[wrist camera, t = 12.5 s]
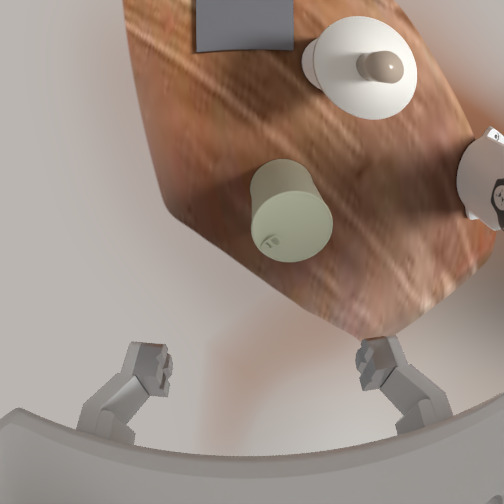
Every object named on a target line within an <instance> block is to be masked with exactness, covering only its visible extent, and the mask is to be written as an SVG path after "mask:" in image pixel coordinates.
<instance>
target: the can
mask: <svg viewBox="0 0 504 504" xmlns="http://www.w3.org/2000/svg"><path fill="white" fill-rule="evenodd" d="M250 194H251V198H252V223H251V234H252V238H253V241H254V243H255V245H256V246H257V248H258V249H259V250H260V251H261V252H262V253H263V254H264V255H266V256H267V257H269V258H271V259H274V260H277V261H281V262H298V261H302V260H305V259H308V258H310V257H312V256H314V255H315V254H317V253H318V252H319V251H321V250H322V249H323V247H324V246H325V245H326V244H327V242H328V241H329V239H330V236H331V234H332V229H333V219H332V215H331V212H330V210H329V208H328V206H327V205H326V204H325V202H324V201H323V199H322V197H321V195H320V194H319V192H318V190H317V188H316V186H315V185H314V183H313V180H312V177H311V175H310V173H309V172H308V170H307V169H306V168H305V167H304V166H303V165H301V164H300V163H298V162H296V161H293V160H289V159H277V160H272V161H270V162H268V163H266V164H264V165H263V166H261V167H260V168H259V169H258V170H257V171H256V173H255V174H254V176H253V178H252V181H251V185H250Z"/></svg>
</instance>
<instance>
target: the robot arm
mask: <svg viewBox="0 0 504 504" xmlns="http://www.w3.org/2000/svg"><path fill="white" fill-rule="evenodd" d="M457 191H458V194H459V197H460V199H461V201H462V202H463V204H464V205H465V210H466V216H467V217H468V218H469V219H471V220H474V219H480V220H481V221H482V222H484V223H485V224H486V225H487V226H488V227H490V228H491V229H492V230H494V231H496V230H501V229H502V230H503V231H504V136H503V135H502V134H500V133H499V132H498V131H497V130H495V129H494V128H492V127H488V128H487V129H486V131H485V132H484V134H483V135H482V136H481V137H480V138H478V139H477V140H475V141H474V142H472V143H471V144H470V145H469V146H468V148H467V149H466V151H465V152H464V154H463V156H462V158H461V161H460V164H459V167H458V172H457ZM361 346H362V347H361V348H360V349H359V350H358V351H357V353H356V360H355V361H356V367H357V370H358V371H359V372H360V373H361V376H360V383H361V386H362V390H363V391H367V390H373V389H379V388H380V390H381V391H382V392H383V394H385V396H386V397H387V398H388V399H389V400H390V401H391V402H392V403H393V404H394V405H395V407H396V408H397V409H398V410H399V411H400V412H401V413H402V414H403V415H404V416H403V417H402V418H401V419H400V420H399V421H398V422H397V423H396V424H395V426H396V430H397V434H398V435H397V436H394V437H390V438H387V439H382V440H378V441H374V442H370V443H365V444H361V445H356V446H350V447H345V448H340V449H334V450H327V451H320V452H311V453H302V454H291V455H278V456H277V455H276V456H215V455H200V454H188V453H180V452H171V451H165V450H158V449H151V448H146V447H141V446H136V445H134V440H135V433H134V431H132V429H130V428H129V427H128V426H127V425H126V424H127V423H128V422H129V420H130V419H131V418H132V417H133V416H134V415H135V413H136V412H137V411H138V410H139V409H140V407H141V406H142V405H143V404H144V403H145V402H146V400H147V399H148V398H149V396H159V397H168V392H169V386H170V383H169V381H168V378H169V377H170V376H171V375H172V368H173V363H172V358H171V355H170V354H168V353H167V351H168V348H167V346H166V344H154V343H143V342H131V343H130V345H129V347H128V350H127V354H126V357H125V360H124V363H123V367H122V370H121V373H117V374H116V375H115V376H114V377H113V378H112V379H110V380H109V381H108V382H107V383H106V384H105V385H104V386H103V387H102V388H101V389H99V390H98V391H97V392H96V393H95V394H94V395H93V396H92V397H91V398H89V399H88V400H87V401H86V402H85V403H84V404H83V407H82V410H81V414H80V417H79V421H78V425H77V428H76V430H75V429H72V428H69V427H66V426H63V425H61V424H58V423H55V422H53V421H50V420H48V419H45V418H43V417H40V416H38V415H36V414H33V413H31V412H29V411H27V410H25V409H22V408H16V409H14V410H12V411H11V412H10V413H8V414H7V415H5V416H4V417H3V418H1V419H0V504H504V393H501V394H499V395H496V396H494V397H493V398H491V399H489V400H487V401H485V402H483V403H481V404H479V405H477V406H474V407H472V408H470V409H468V410H466V411H464V412H461V413H459V414H457V415H454V416H453V413H452V410H451V408H450V404H449V402H448V399H447V396H446V394H445V392H444V391H443V390H442V389H440V388H439V387H438V386H437V385H436V384H435V383H433V382H432V381H431V380H430V379H429V378H427V377H426V376H425V375H424V374H422V373H421V372H420V371H419V370H418V369H416V368H415V367H414V366H413V365H411V364H410V365H408V362H407V360H406V357H405V355H404V352H403V350H402V347H401V345H400V342H399V340H398V338H397V336H396V335H390V336H381V337H374V338H367V339H364V340H362V342H361Z"/></svg>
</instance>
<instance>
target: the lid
mask: <svg viewBox="0 0 504 504" xmlns="http://www.w3.org/2000/svg"><path fill="white" fill-rule="evenodd" d="M312 61H313V69H314V74H315V77H316V80H317V82H318V84H319V86H320V88H321V89H322V91H323V93H324V94H325V95H326V96H327V98H328V99H329V100H330V101H331V102H332V103H333V104H335V105H336V106H337V107H339V108H340V109H342V110H343V111H345V112H347V113H349V114H352V115H354V116H357V117H360V118H364V119H373V120H376V119H384V118H388V117H390V116H393V115H395V114H397V113H398V112H400V111H401V110H402V109H403V108H404V107H405V106H406V105H407V104H408V103H409V101H410V100H411V98H412V96H413V94H414V91H415V88H416V83H417V69H416V63H415V59H414V57H413V54H412V52H411V50H410V48H409V46H408V45H407V43H406V42H405V40H404V39H403V38H402V37H401V36H400V35H399V34H398V33H397V32H396V31H395V30H394V29H392V28H391V27H390V26H388V25H386V24H385V23H383V22H381V21H378V20H376V19H373V18H369V17H363V16H354V17H347V18H343V19H341V20H338V21H336V22H335V23H333V24H331V25H330V26H328V27H327V28H326V29H325V30H324V31H323V32H322V33H321V34H320V36H319V38H318V39H317V41H316V44H315V46H314V51H313V60H312Z"/></svg>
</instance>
